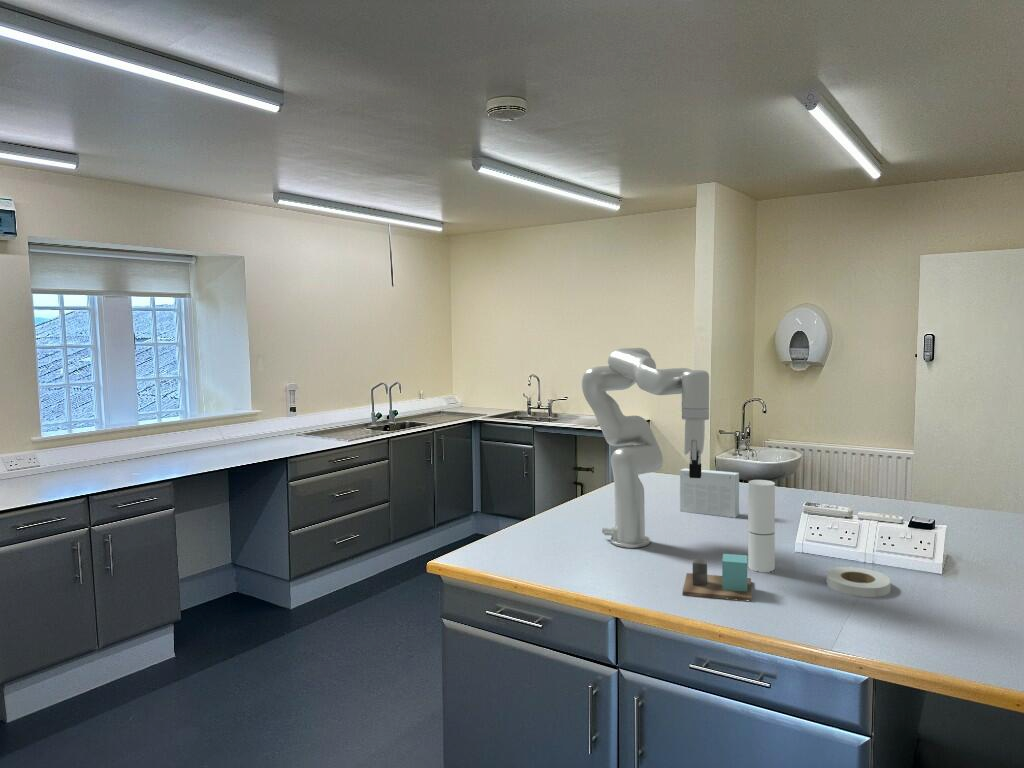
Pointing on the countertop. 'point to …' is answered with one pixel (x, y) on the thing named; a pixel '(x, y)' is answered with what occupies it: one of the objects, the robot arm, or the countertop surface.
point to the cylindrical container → (761, 525)
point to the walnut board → (710, 584)
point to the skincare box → (710, 493)
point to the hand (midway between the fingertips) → (695, 477)
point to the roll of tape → (844, 576)
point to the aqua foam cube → (734, 572)
